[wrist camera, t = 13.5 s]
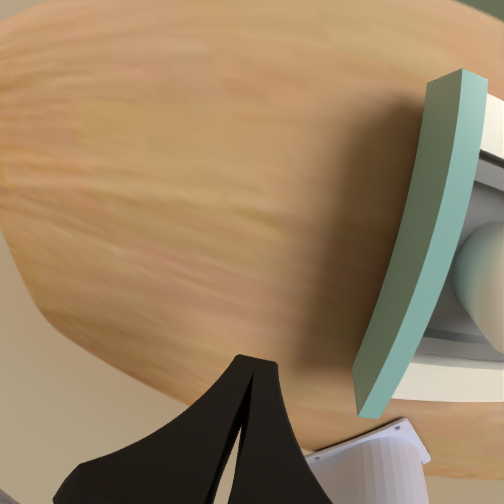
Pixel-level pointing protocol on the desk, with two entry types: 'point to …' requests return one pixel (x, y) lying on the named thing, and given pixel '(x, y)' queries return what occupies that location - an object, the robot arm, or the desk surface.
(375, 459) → the robot arm
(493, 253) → the white dome-topped cylinder
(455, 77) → the tray
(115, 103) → the desk surface
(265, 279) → the desk surface
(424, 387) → the dock
